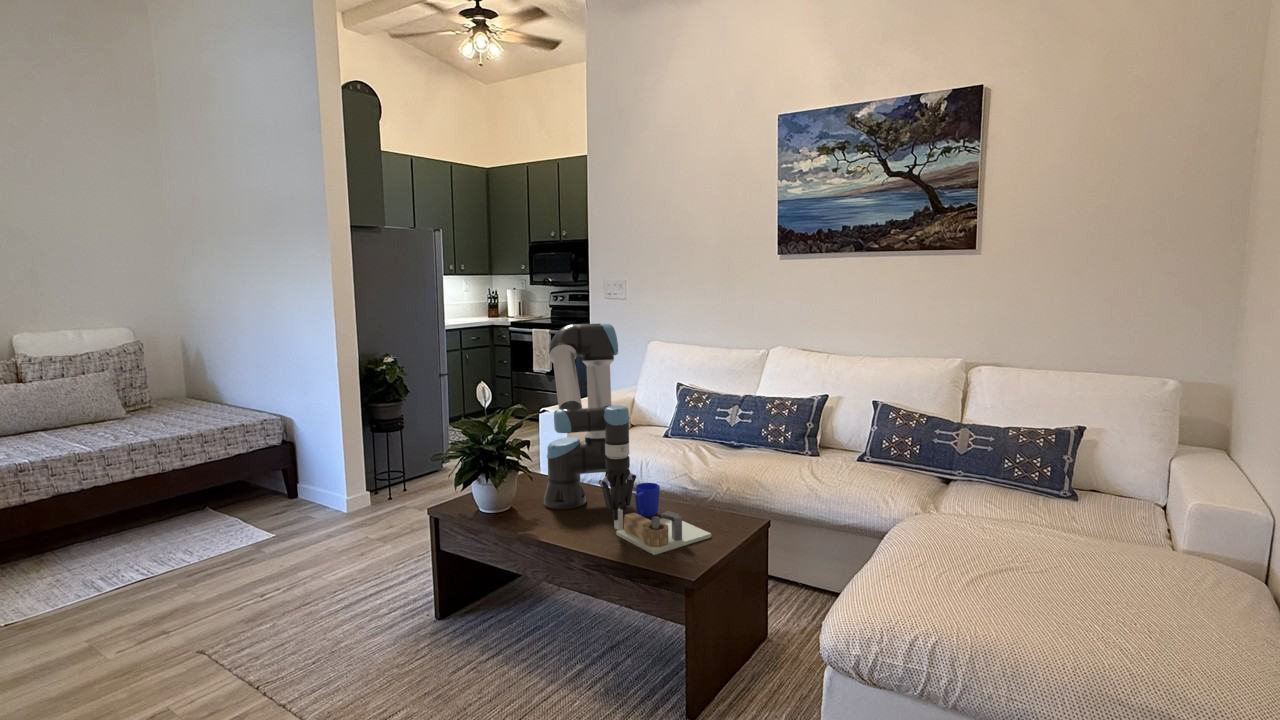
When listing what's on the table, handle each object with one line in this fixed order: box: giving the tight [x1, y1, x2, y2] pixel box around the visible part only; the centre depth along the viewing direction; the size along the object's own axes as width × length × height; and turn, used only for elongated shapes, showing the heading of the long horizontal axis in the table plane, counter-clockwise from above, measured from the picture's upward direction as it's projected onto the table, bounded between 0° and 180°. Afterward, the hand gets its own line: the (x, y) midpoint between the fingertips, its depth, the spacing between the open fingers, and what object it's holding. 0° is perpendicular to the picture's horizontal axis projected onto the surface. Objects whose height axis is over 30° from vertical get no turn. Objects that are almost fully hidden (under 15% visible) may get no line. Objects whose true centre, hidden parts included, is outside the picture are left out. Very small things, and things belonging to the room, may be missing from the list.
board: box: [615, 518, 712, 556], centre depth 219 cm, size 20×22×1 cm
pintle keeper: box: [651, 510, 683, 541], centre depth 213 cm, size 7×10×9 cm
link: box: [623, 512, 668, 547], centre depth 215 cm, size 18×7×5 cm, turn 36°
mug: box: [634, 482, 661, 518], centre depth 237 cm, size 8×12×10 cm
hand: (618, 528), depth 218 cm, fingers closed
